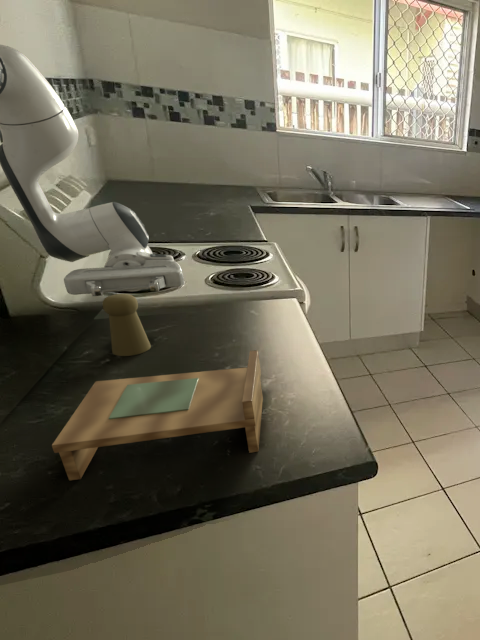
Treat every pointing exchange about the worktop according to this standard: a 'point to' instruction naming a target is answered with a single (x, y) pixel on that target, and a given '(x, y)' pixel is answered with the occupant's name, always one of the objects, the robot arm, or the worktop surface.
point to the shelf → (162, 411)
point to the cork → (125, 325)
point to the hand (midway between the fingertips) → (125, 290)
